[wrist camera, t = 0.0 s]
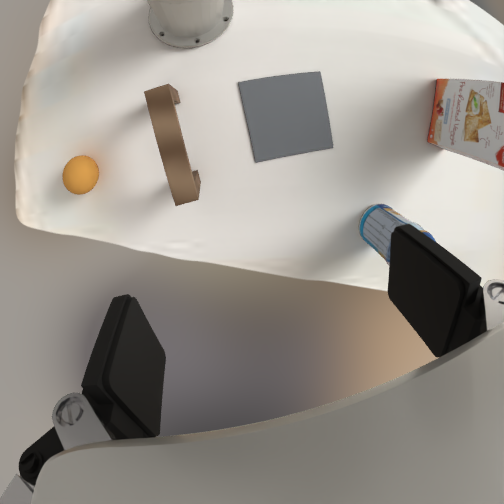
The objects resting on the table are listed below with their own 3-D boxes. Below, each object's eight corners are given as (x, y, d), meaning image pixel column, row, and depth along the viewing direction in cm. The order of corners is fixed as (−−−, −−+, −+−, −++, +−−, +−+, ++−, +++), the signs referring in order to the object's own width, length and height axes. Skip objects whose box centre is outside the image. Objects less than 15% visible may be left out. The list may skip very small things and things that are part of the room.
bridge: (158, 96, 37) (144, 91, 28) (177, 90, 37) (168, 83, 28) (182, 187, 44) (175, 206, 35) (200, 182, 44) (198, 199, 35)
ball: (68, 160, 38) (51, 167, 33) (97, 147, 38) (83, 153, 33) (79, 193, 41) (63, 204, 36) (108, 182, 41) (95, 191, 36)
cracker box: (434, 77, 39) (518, 82, 21) (453, 88, 40) (533, 99, 22) (424, 142, 45) (508, 169, 27) (444, 150, 46) (523, 179, 28)
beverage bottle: (355, 207, 49) (422, 259, 32) (393, 198, 50) (465, 243, 32) (358, 247, 53) (415, 309, 36) (393, 237, 54) (456, 291, 36)
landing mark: (238, 82, 37) (238, 82, 37) (319, 71, 38) (320, 71, 38) (255, 162, 44) (255, 162, 43) (332, 147, 44) (333, 147, 44)
